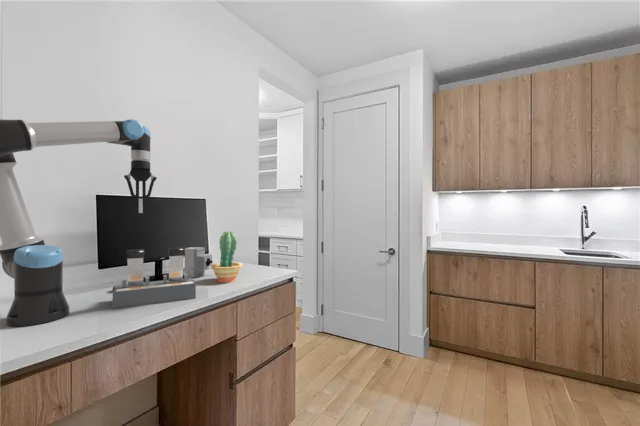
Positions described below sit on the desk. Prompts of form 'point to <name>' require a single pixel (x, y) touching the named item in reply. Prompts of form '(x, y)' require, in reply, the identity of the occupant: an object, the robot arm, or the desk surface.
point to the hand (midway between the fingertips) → (140, 212)
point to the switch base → (153, 292)
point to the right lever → (176, 264)
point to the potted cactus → (227, 259)
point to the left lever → (135, 266)
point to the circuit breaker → (196, 261)
